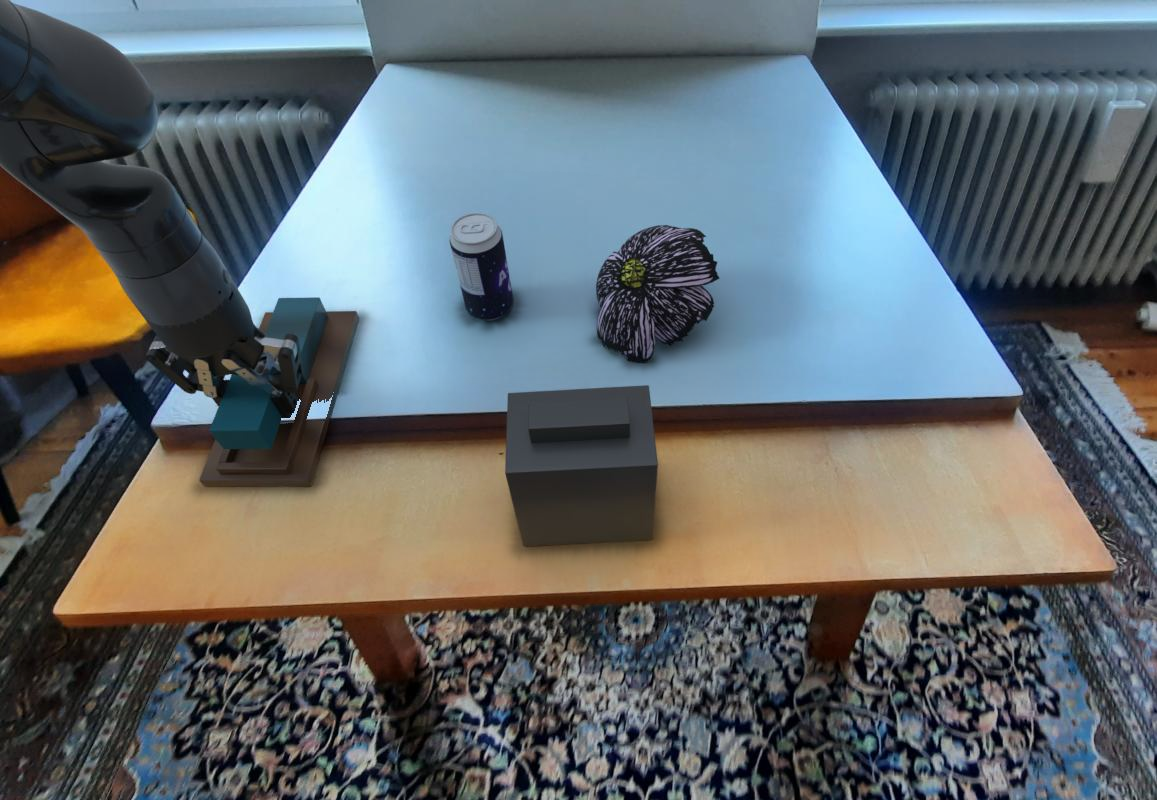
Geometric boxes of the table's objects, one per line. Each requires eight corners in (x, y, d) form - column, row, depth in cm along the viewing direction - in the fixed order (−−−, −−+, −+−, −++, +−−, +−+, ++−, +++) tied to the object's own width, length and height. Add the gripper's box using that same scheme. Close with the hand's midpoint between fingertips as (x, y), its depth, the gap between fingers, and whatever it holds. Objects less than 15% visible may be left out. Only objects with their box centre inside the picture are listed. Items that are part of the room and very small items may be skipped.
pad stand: (523, 546, 68) (501, 459, 56) (524, 472, 73) (504, 377, 61) (652, 540, 67) (659, 451, 56) (645, 466, 72) (649, 369, 60)
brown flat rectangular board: (311, 486, 73) (295, 462, 69) (204, 486, 73) (183, 463, 70) (359, 317, 87) (348, 290, 83) (268, 319, 87) (254, 292, 84)
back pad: (271, 449, 71) (258, 430, 69) (223, 449, 71) (208, 430, 69) (298, 369, 77) (286, 349, 75) (253, 369, 77) (241, 350, 75)
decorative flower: (554, 236, 79) (685, 179, 77) (581, 282, 90) (696, 234, 88) (595, 353, 74) (737, 296, 72) (619, 387, 85) (742, 338, 83)
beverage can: (512, 324, 85) (498, 244, 75) (464, 325, 85) (443, 246, 75) (515, 290, 88) (502, 209, 79) (469, 291, 88) (450, 211, 79)
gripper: (81, 324, 59) (182, 441, 73) (254, 322, 58) (324, 441, 72) (119, 260, 64) (207, 382, 77) (280, 257, 63) (341, 381, 76)
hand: (263, 410), depth 74 cm, fingers closed on back pad, 4 cm apart
